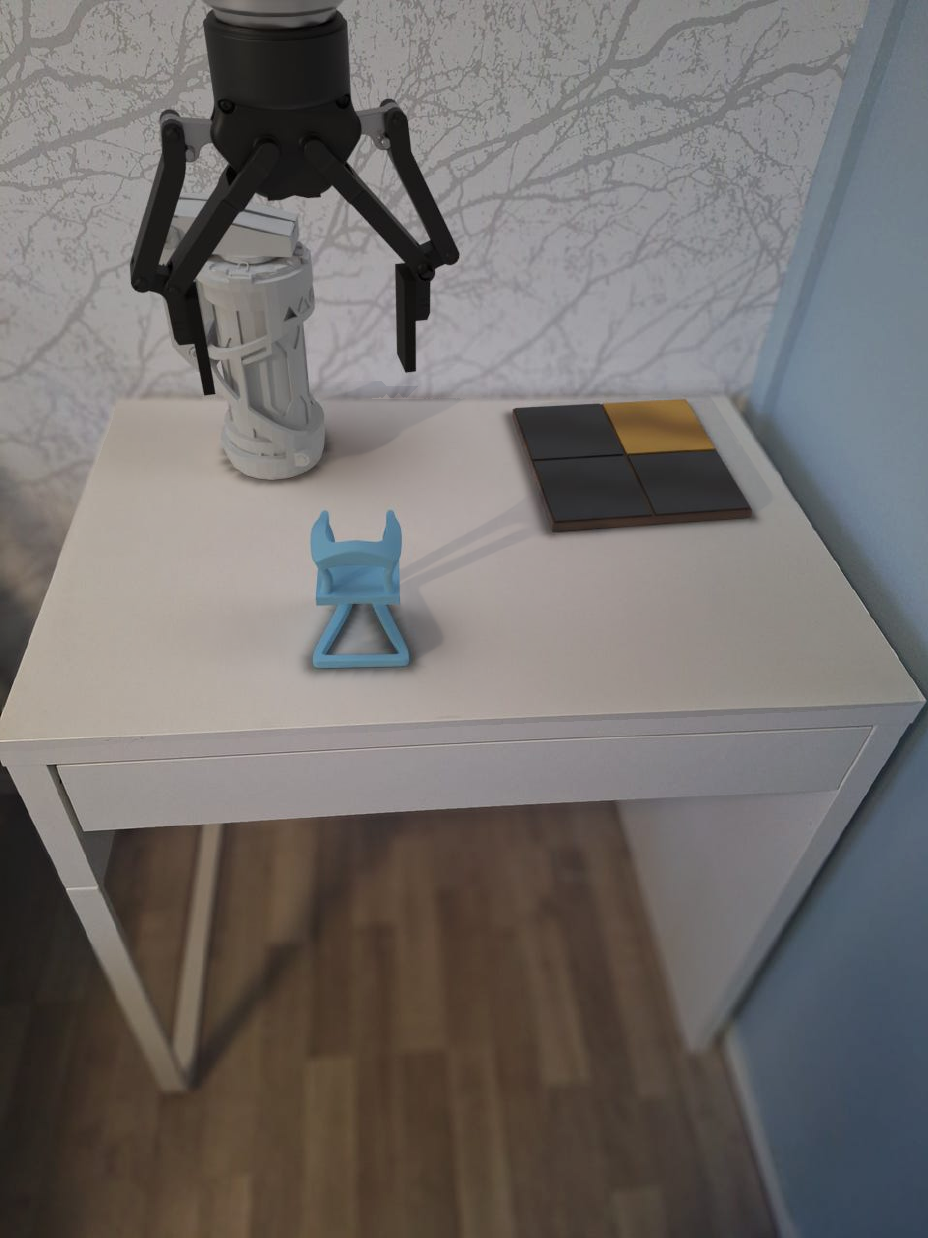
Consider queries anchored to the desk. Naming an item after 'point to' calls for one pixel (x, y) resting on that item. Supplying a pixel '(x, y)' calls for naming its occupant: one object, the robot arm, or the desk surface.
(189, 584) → the desk surface
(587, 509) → the board
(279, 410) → the grey tall piece
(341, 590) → the chair
